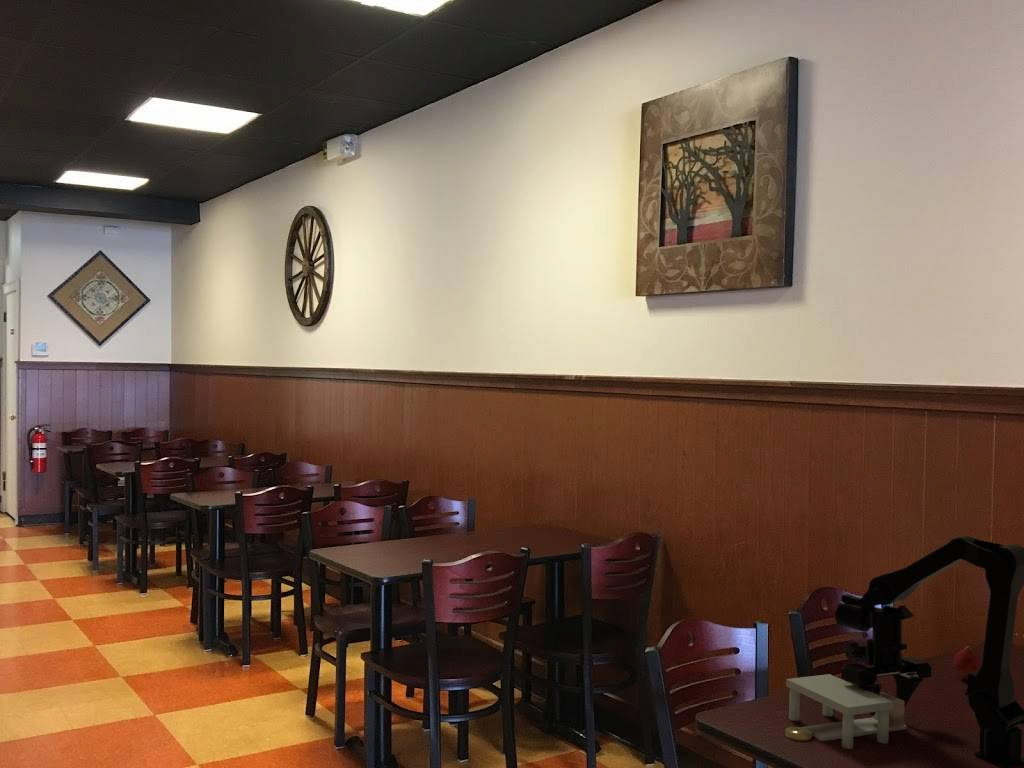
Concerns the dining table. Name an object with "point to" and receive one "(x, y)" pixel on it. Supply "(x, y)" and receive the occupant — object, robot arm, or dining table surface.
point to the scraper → (862, 723)
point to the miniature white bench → (840, 703)
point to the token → (798, 733)
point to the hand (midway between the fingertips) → (885, 713)
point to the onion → (966, 662)
